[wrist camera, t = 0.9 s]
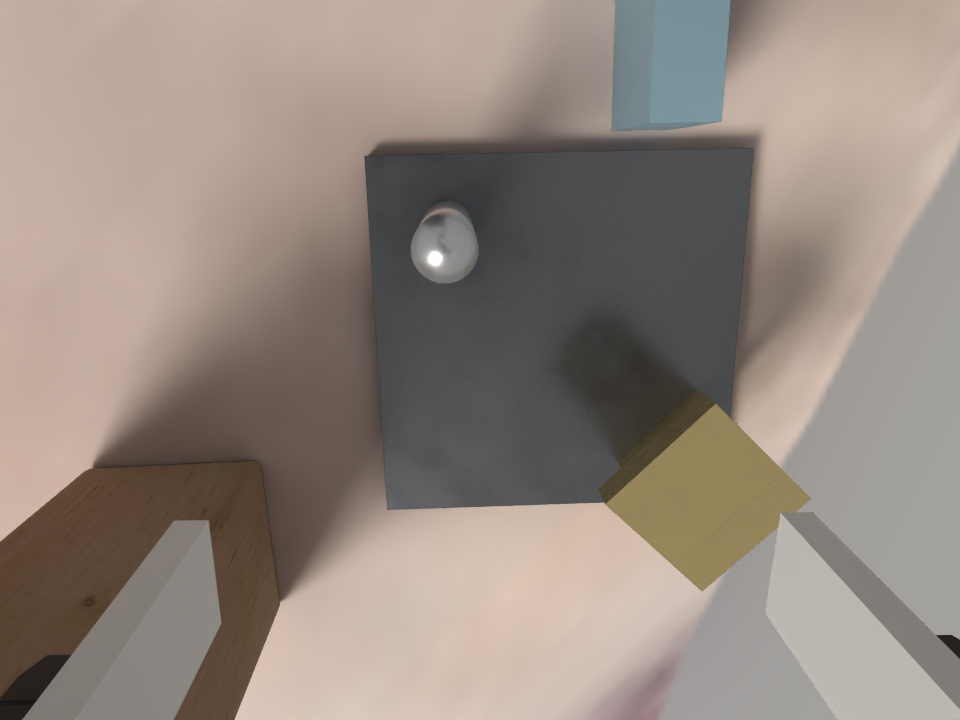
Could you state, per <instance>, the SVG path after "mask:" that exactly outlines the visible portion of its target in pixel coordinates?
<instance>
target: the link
mask: <svg viewBox="0 0 960 720" xmlns="http://www.w3.org/2000/svg"><path fill="white" fill-rule="evenodd" d="M730 3H731V0H616V15H615V45H614V76H613V106H612V131H630V130H671V129H678V128H684V127H690V126H697V125H703V124H710V123H716V122H722V109H723V96H724V82H725V69H726V56H727V43H728V29H729V16H730Z"/></svg>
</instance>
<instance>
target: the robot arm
mask: <svg viewBox="0 0 960 720" xmlns="http://www.w3.org/2000/svg"><path fill="white" fill-rule="evenodd" d="M765 613H766V615H767V616H768V618H769V619H770V621H771V622H772V624H773V625H774V627H775V628H776V630H777V631H778V633H779V634H780V636H781V637H782V639H783V640H784V642H785V643H786V644H787V646H788V647H789V649H790V650H791V652H792V653H793V655H794V656H795V658H796V659H797V661H798V662H799V664H800V665H801V667H802V668H803V670H804V671H805V672H806V674H807V675H808V677H809V678H810V680H811V681H812V683H813V684H814V686H815V687H816V689H817V690H818V692H819V693H820V695H821V696H822V697H823V699H824V700H825V702H826V704H827V705H828V706H829V708H830V709H831V711H832V712H833V714H834V715H835V717H836V718H837V720H960V640H959V639H957V638H956V637H954V636H952V635H935V634H934V633H933V632H932V631H931V630H930V629H929V628H928V627H927V626H926V625H925V624H924V623H923V622H922V621H921V620H920V619H919V618H918V617H917V616H916V615H915V614H914V613H913V612H912V611H911V610H910V609H909V608H908V607H907V606H906V605H905V604H904V603H903V602H902V601H901V600H900V599H899V598H898V597H897V596H896V595H895V594H894V593H893V592H892V591H891V590H890V589H889V588H888V587H887V586H886V585H885V584H884V583H883V582H882V581H881V580H880V579H879V578H878V577H877V576H876V575H875V574H874V573H873V572H872V571H871V570H870V569H869V568H868V567H867V566H866V565H865V564H864V563H863V562H862V561H861V560H860V559H859V558H858V557H857V556H856V555H855V554H854V553H853V552H852V551H851V550H850V549H849V548H848V547H847V546H846V545H845V544H844V543H843V542H842V541H841V540H840V539H839V538H838V537H837V536H836V535H835V534H834V533H833V532H832V531H831V530H830V529H829V528H828V527H827V526H826V525H825V524H824V523H823V522H822V521H821V520H820V519H819V518H818V517H817V516H816V515H815V514H814V513H813V512H806V513H805V512H803V513H802V512H799V513H798V512H797V513H780V520H779V526H778V533H777V540H776V546H775V552H774V559H773V566H772V573H771V579H770V585H769V592H768V599H767V605H766V612H765ZM220 625H221V616H220V608H219V600H218V592H217V584H216V576H215V568H214V560H213V552H212V544H211V535H210V527H209V520H182V521H173V523H172V524H171V525H170V527H169V528H168V529H167V531H166V532H165V533H164V535H163V536H162V537H161V538H160V540H159V541H158V542H157V544H156V545H155V546H154V548H153V549H152V550H151V552H150V553H149V554H148V555H147V557H146V558H145V559H144V561H143V562H142V563H141V565H140V566H139V567H138V569H137V570H136V571H135V573H134V574H133V575H132V576H131V578H130V579H129V580H128V582H127V583H126V584H125V586H124V587H123V588H122V590H121V591H120V592H119V594H118V595H117V596H116V597H115V599H114V600H113V601H112V603H111V604H110V605H109V607H108V608H107V609H106V611H105V612H104V613H103V615H102V616H101V617H100V618H99V620H98V621H97V622H96V624H95V625H94V626H93V628H92V629H91V630H90V632H89V633H88V634H87V636H86V637H85V638H84V639H83V641H82V642H81V643H80V645H79V646H78V647H77V649H76V650H75V651H74V653H73V654H72V655H47V656H45V657H44V658H43V659H41V660H40V661H38V662H37V663H36V664H34V665H33V666H32V667H30V668H29V669H27V670H26V671H25V672H23V673H22V674H21V675H19V676H18V677H17V678H16V679H15V681H14V682H13V683H12V684H11V685H10V687H9V688H8V689H7V690H6V691H5V693H4V694H3V695H2V696H1V697H0V720H174V718H175V716H176V714H177V712H178V710H179V708H180V706H181V704H182V702H183V700H184V698H185V696H186V694H187V692H188V690H189V688H190V686H191V684H192V682H193V680H194V678H195V676H196V674H197V672H198V670H199V667H200V665H201V663H202V661H203V659H204V657H205V655H206V653H207V651H208V649H209V647H210V645H211V643H212V641H213V639H214V637H215V635H216V633H217V631H218V629H219V627H220Z"/></svg>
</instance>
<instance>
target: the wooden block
mask: <svg viewBox="0 0 960 720" xmlns="http://www.w3.org/2000/svg"><path fill="white" fill-rule="evenodd" d="M182 520H209V527H210V535H211V544H212V552H213V560H214V568H215V576H216V584H217V592H218V600H219V608H220V616H221V625H220V627H219V629H218V631H217V633H216V635H215V637H214V639H213V641H212V643H211V645H210V647H209V649H208V651H207V653H206V655H205V657H204V659H203V661H202V663H201V665H200V667H199V670H198V672H197V674H196V676H195V678H194V680H193V682H192V684H191V686H190V688H189V690H188V692H187V694H186V696H185V698H184V700H183V702H182V704H181V706H180V708H179V710H178V712H177V714H176V716H175V718H174V720H234V719H235V717H236V714H237V712H238V709H239V707H240V704H241V702H242V699H243V697H244V694H245V692H246V689H247V687H248V684H249V682H250V679H251V677H252V674H253V671H254V669H255V666H256V664H257V661H258V659H259V656H260V654H261V651H262V649H263V646H264V644H265V641H266V639H267V636H268V634H269V631H270V629H271V626H272V624H273V621H274V619H275V616H276V614H277V611H278V608H279V605H280V602H279V595H278V588H277V580H276V573H275V566H274V559H273V552H272V544H271V537H270V530H269V523H268V516H267V508H266V501H265V494H264V487H263V480H262V473H261V467H260V465H259V463H258V462H255V461H241V462H220V463H199V464H178V465H157V466H137V467H116V468H95V469H89V470H87V471H85V472H83V473H82V474H81V475H80V476H79V477H77V478H76V479H75V480H74V481H73V482H71V483H70V484H69V485H68V486H67V487H65V488H64V489H63V490H62V491H61V492H59V493H58V494H57V495H56V496H55V497H53V498H52V499H51V500H50V501H49V502H47V503H46V504H45V505H44V506H43V507H41V508H40V509H39V510H38V511H37V512H35V513H34V514H33V515H32V516H31V517H29V518H28V519H27V520H26V521H25V522H23V523H22V524H21V525H20V526H18V527H17V528H16V529H15V530H14V531H12V532H11V533H10V534H9V535H8V536H6V537H5V538H4V539H3V540H2V541H0V697H1V696H2V695H3V694H4V693H5V691H6V690H7V689H8V688H9V687H10V685H11V684H12V683H13V682H14V681H15V679H16V678H17V677H18V676H19V675H21V674H22V673H23V672H25V671H26V670H27V669H29V668H30V667H32V666H33V665H34V664H36V663H37V662H38V661H40V660H41V659H43V658H44V657H45V656H47V655H72V654H73V653H74V651H75V650H76V649H77V647H78V646H79V645H80V643H81V642H82V641H83V639H84V638H85V637H86V636H87V634H88V633H89V632H90V630H91V629H92V628H93V626H94V625H95V624H96V622H97V621H98V620H99V618H100V617H101V616H102V615H103V613H104V612H105V611H106V609H107V608H108V607H109V605H110V604H111V603H112V601H113V600H114V599H115V597H116V596H117V595H118V594H119V592H120V591H121V590H122V588H123V587H124V586H125V584H126V583H127V582H128V580H129V579H130V578H131V576H132V575H133V574H134V573H135V571H136V570H137V569H138V567H139V566H140V565H141V563H142V562H143V561H144V559H145V558H146V557H147V555H148V554H149V553H150V552H151V550H152V549H153V548H154V546H155V545H156V544H157V542H158V541H159V540H160V538H161V537H162V536H163V535H164V533H165V532H166V531H167V529H168V528H169V527H170V525H171V524H172V523H173V521H182Z"/></svg>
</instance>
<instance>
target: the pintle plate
mask: <svg viewBox="0 0 960 720" xmlns="http://www.w3.org/2000/svg"><path fill="white" fill-rule="evenodd" d="M753 151H754V148H740V149H690V150H640V151H591V152H541V153H491V154H442V155H392V156H365V171H366V187H367V202H368V218H369V233H370V249H371V264H372V280H373V295H374V311H375V326H376V342H377V357H378V373H379V388H380V404H381V419H382V435H383V450H384V466H385V481H386V497H387V510H398V509H427V508H456V507H485V506H514V505H543V504H572V503H601V502H604V503H605V505H607V506H608V507H609V508H610V509H611V510H612V511H613V512H614V513H615V514H617V515H618V516H619V517H620V518H621V519H622V520H623V521H624V522H625V523H627V524H628V525H629V526H630V527H631V528H632V529H633V530H634V531H635V532H637V533H638V534H639V535H640V536H641V537H642V538H643V539H644V540H645V541H647V542H648V543H649V544H650V545H651V546H652V547H653V548H654V549H655V550H657V551H658V552H659V553H660V554H661V555H662V556H663V557H664V558H665V559H667V560H668V561H669V562H670V563H671V564H672V565H673V566H674V567H675V568H677V569H678V570H679V571H680V572H681V573H682V574H683V575H684V576H685V577H687V578H688V579H689V580H690V581H691V582H692V583H693V584H694V585H695V586H697V587H698V588H699V589H700V590H701V591H703V590H704V589H706V588H707V587H708V586H709V585H710V584H712V583H713V582H714V581H715V580H716V579H717V578H719V577H720V576H721V575H722V574H723V573H724V572H726V571H727V570H728V569H729V568H730V567H732V566H733V565H734V564H735V563H736V562H737V561H739V560H740V559H741V558H742V557H743V556H744V555H746V554H747V553H748V552H749V551H750V550H752V549H753V548H754V547H755V546H756V545H757V544H759V543H760V542H761V541H762V540H763V539H764V538H765V537H767V536H768V535H769V534H770V533H771V532H772V531H774V530H775V529H776V528H777V527H778V526H779V520H780V513H795V512H796V511H797V510H798V509H800V508H801V507H802V506H803V505H804V504H806V503H807V502H808V501H809V500H810V499H811V498H810V497H809V496H808V495H807V494H806V493H805V492H804V491H803V490H802V489H801V488H800V487H799V486H798V485H797V484H796V483H795V482H794V481H793V480H792V479H791V478H790V477H789V476H788V475H787V474H786V473H785V472H784V471H783V470H782V469H781V468H780V467H779V466H778V465H777V464H776V463H775V462H774V461H773V460H772V459H771V458H770V457H769V456H768V455H767V454H766V453H765V452H764V451H763V450H762V449H761V448H760V447H759V446H758V445H757V444H756V443H755V442H754V441H753V440H752V439H751V438H750V437H749V436H748V435H747V434H746V433H745V432H744V431H743V430H742V429H741V428H740V427H739V426H738V425H737V424H736V423H735V422H734V421H733V420H732V419H731V418H730V409H731V398H732V387H733V376H734V364H735V353H736V342H737V331H738V319H739V308H740V297H741V286H742V274H743V263H744V252H745V241H746V229H747V218H748V207H749V196H750V184H751V173H752V162H753Z"/></svg>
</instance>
